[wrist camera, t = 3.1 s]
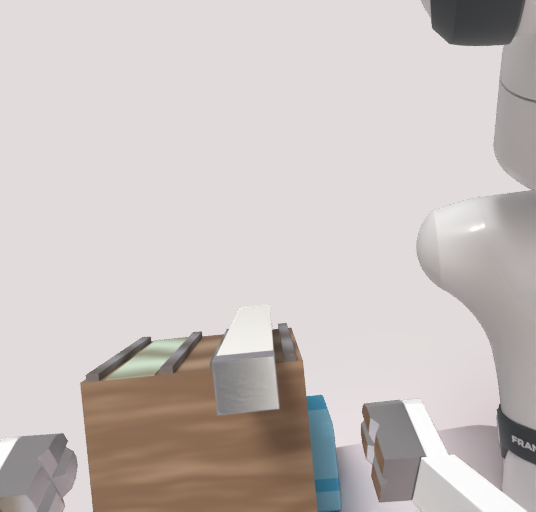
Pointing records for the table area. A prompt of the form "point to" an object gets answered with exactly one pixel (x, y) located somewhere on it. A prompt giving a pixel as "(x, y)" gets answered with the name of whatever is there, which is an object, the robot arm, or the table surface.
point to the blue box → (323, 455)
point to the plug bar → (247, 364)
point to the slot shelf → (194, 433)
